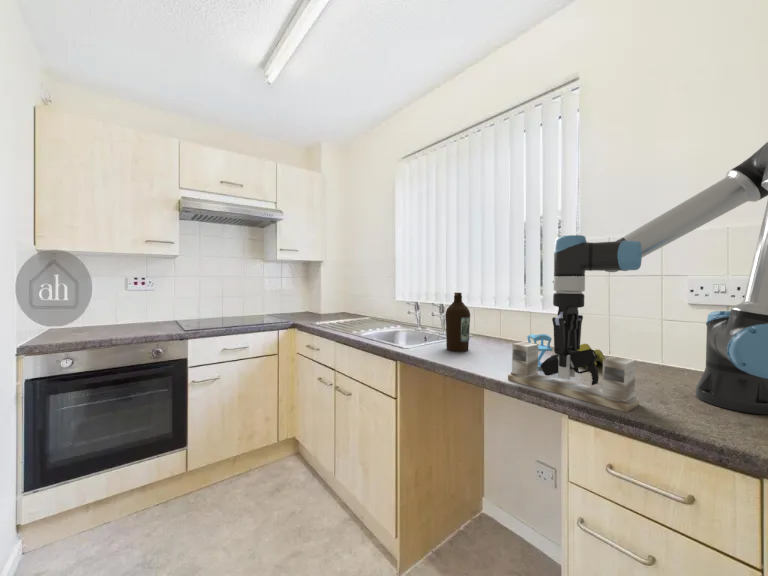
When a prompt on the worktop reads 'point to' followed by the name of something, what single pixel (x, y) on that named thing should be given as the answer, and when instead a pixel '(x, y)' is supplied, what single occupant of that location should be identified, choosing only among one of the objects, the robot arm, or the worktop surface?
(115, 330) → the worktop surface
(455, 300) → the olive oil
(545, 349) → the chair
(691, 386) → the worktop surface
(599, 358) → the plastic component
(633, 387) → the board
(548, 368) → the gun
